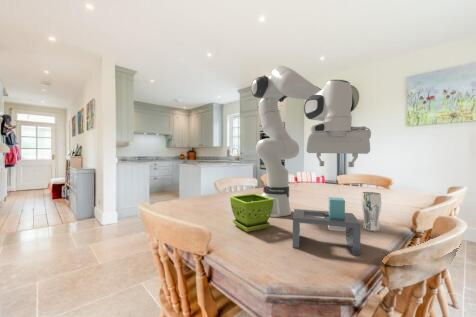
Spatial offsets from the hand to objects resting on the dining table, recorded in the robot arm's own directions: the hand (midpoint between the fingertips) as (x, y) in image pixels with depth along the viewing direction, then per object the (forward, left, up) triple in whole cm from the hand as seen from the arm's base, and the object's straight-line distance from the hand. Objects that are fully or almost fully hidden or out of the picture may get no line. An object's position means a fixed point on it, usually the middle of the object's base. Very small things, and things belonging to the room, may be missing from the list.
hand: (336, 166), depth 77 cm
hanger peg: (0, -3, -21) cm, 21 cm away
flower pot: (-32, +7, -27) cm, 43 cm away
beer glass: (+16, +19, -27) cm, 36 cm away
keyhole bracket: (-4, -3, -27) cm, 27 cm away
